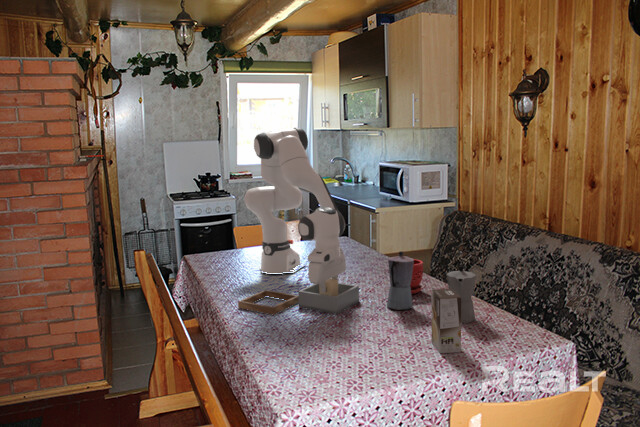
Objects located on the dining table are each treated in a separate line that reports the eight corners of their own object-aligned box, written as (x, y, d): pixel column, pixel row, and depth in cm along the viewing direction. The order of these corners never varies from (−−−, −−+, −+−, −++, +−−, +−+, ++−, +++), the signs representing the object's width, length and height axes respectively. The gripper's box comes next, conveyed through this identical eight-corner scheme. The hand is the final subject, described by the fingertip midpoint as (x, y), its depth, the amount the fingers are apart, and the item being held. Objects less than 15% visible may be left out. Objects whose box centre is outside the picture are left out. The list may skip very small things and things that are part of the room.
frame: (265, 296, 208) (265, 289, 208) (299, 302, 200) (299, 295, 199) (238, 308, 195) (238, 301, 195) (273, 315, 186) (273, 308, 186)
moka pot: (418, 302, 196) (418, 248, 193) (407, 315, 182) (406, 258, 179) (393, 299, 200) (393, 246, 197) (380, 312, 186) (379, 256, 183)
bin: (322, 295, 207) (322, 280, 206) (359, 301, 199) (358, 285, 198) (298, 307, 194) (298, 291, 193) (336, 314, 185) (336, 297, 185)
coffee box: (461, 352, 151) (462, 297, 149) (439, 353, 151) (440, 298, 148) (451, 340, 160) (451, 288, 158) (430, 341, 160) (430, 289, 157)
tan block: (326, 293, 199) (326, 278, 199) (338, 295, 197) (338, 279, 196) (319, 297, 195) (319, 281, 194) (331, 299, 193) (330, 283, 192)
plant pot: (429, 290, 210) (429, 260, 209) (410, 298, 201) (410, 267, 199) (401, 284, 219) (401, 255, 217) (382, 292, 210) (382, 262, 208)
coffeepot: (474, 326, 171) (475, 271, 168) (444, 324, 173) (444, 269, 171) (476, 311, 185) (477, 260, 182) (448, 309, 188) (448, 258, 185)
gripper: (335, 246, 204) (335, 281, 206) (304, 257, 187) (306, 295, 189) (349, 247, 200) (350, 283, 203) (320, 259, 183) (321, 298, 186)
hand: (328, 289), depth 196 cm, fingers closed on tan block, 5 cm apart
